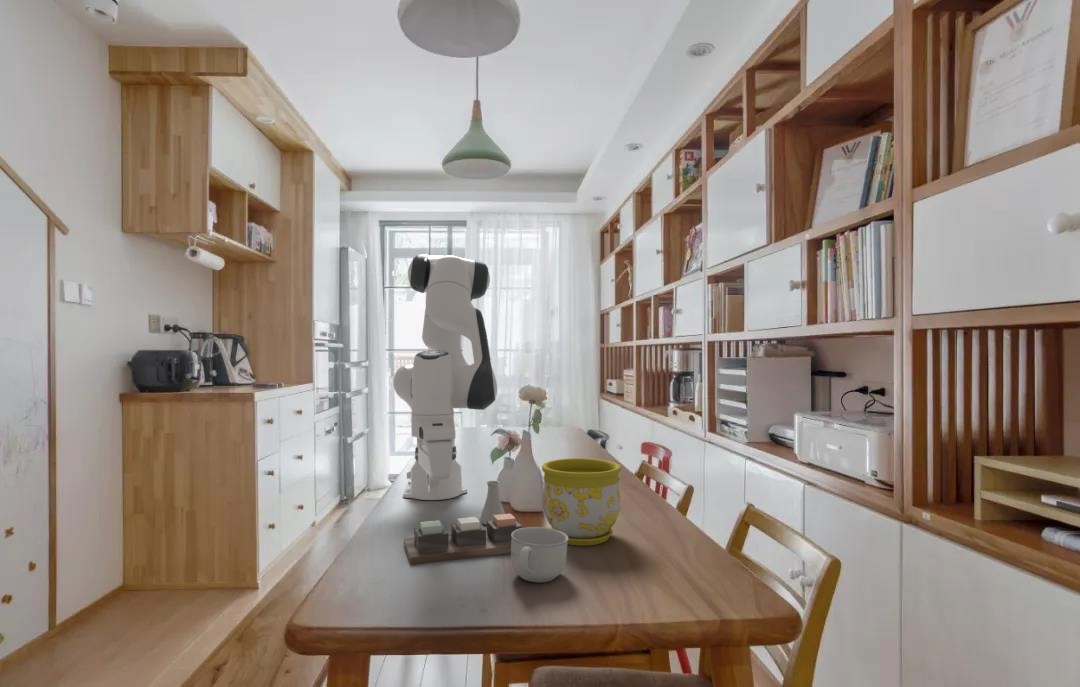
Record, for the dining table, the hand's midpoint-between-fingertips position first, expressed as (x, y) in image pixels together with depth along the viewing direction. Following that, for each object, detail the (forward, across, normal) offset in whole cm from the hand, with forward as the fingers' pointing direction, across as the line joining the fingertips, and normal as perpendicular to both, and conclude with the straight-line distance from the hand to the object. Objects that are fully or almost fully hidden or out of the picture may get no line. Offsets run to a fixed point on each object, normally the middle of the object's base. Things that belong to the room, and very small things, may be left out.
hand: (433, 493), depth 123 cm
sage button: (+8, -1, 0) cm, 9 cm away
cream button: (+9, 0, +8) cm, 11 cm away
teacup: (+13, +20, +16) cm, 29 cm away
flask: (+13, -18, +18) cm, 28 cm away
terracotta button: (+9, 0, +16) cm, 18 cm away
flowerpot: (+13, +1, +34) cm, 36 cm away
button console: (+12, 0, +8) cm, 15 cm away
